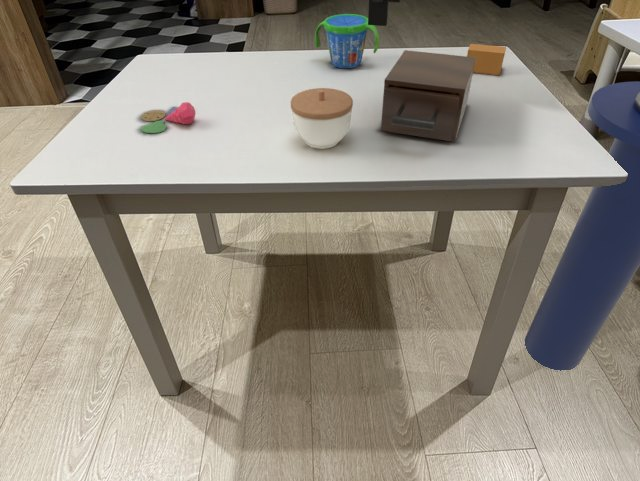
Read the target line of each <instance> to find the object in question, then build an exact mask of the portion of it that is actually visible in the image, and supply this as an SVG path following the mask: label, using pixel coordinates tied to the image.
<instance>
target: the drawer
mask: <svg viewBox="0 0 640 481" xmlns="http://www.w3.org/2000/svg"><path fill="white" fill-rule="evenodd" d="M459 100H460V96H459V94H457V93H449V92H441V91H433V90H425V89H417V88H409V87H401V86H393V87H386V88H385V96H384V109H383V123H382V132H387V131H388V133H393V132H394V134H400V133H401V135H406V134H407V136H413V135H414V136H413V137H419V136H420V138H426V137H427V138H426V139H432V138H433V140H439V139H440V140H439V141H445V140H446V142H451V141H452V137H453V132H454V126H455V121H456V116H457V111H458V105H459Z"/></svg>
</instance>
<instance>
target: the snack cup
mask: <svg viewBox="0 0 640 481" xmlns="http://www.w3.org/2000/svg"><path fill="white" fill-rule="evenodd" d="M322 27H324V30H325V33H326V40H327V45H328V53H329V59H330V62H331V65H333V66H334V67H335V68H339V69H352V68H356V67H358V66H361V64H362V62H363V56H364V51H365V44H366V38H367V33H368V30H370V31H371V32H372V33H373V36H374V46H373V54H376V53H377V51H378V50H379V45H380V36H379V32H378V30H377V28H376V25H368V16H365V15H361V14H354V13H344V14H343V13H342V14H341V13H340V14H335V15H331V16H327V17H326V18H325V19H324V20H323V21H322V22H320V23H319V24H318V25H317V27H316V29H315V33H314V45H315V47H316V49H318V48H320V46H321V40H320V30H321V28H322Z"/></svg>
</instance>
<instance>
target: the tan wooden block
mask: <svg viewBox="0 0 640 481" xmlns="http://www.w3.org/2000/svg"><path fill="white" fill-rule="evenodd" d="M506 50H507V46H500V45H491V44H490V45H489V44H477V43H470V44H469V46H468V49H467V54H466V56H467V57H476V61H475V66H474V71H473V74H484V75H493V76H500V75H501V71H502V67H503V64H504V58H505V55H506Z"/></svg>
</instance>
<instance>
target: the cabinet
mask: <svg viewBox="0 0 640 481" xmlns="http://www.w3.org/2000/svg"><path fill="white" fill-rule="evenodd" d="M475 61H476V57H467V55H457V54H447V53H437V52H427V51H417V50H416V51H415V50H406V49H405V50H403V52H402V53H401V55H400V56H399V58H398V59H397V60H396V62H395V64H394V65H393V67H392V68H391V69H390V71H389V72H388V74H386V77H385V78H384V80H383V81H384V83H383V84H384V85H383V96H382V109H381V121H380V122H381V124H380V131H382V123H383V109H384V96H385V88H386V87H393V86H401V87H409V88H417V89H425V90H433V91H441V92H449V93H457V94H459V96H460V100H459V105H458V111H457V116H456V121H455V126H454V132H453V137H452V141H450V142H451V143H452V142H453V143H456V141H457V138H458V134H459V131H460V128H461V125H462V121H463V119H464V115H465V112H466V108H467V105H468V100H469V95H470V90H471V85H472V81H473V75H474V73H473V71H474V66H475ZM382 132H383V131H382ZM386 132H388V131H386ZM388 133H389V132H388ZM392 133H394V132H392ZM394 134H395V133H394ZM400 134H401V133H399V135H400ZM401 135H402V134H401ZM405 135H407V134H405ZM407 136H408V135H407ZM412 136H413V137H415V136H414V135H412ZM418 137H420V136H418ZM420 138H421V137H420ZM425 138H426V139H428V138H427V137H425ZM431 139H433V138H431ZM433 140H434V139H433ZM438 141H441V140H440V139H438ZM444 141H446V140H444ZM446 142H447V141H446Z"/></svg>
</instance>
